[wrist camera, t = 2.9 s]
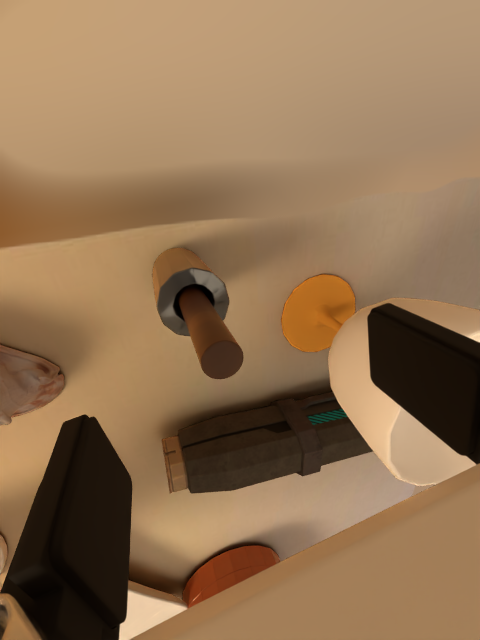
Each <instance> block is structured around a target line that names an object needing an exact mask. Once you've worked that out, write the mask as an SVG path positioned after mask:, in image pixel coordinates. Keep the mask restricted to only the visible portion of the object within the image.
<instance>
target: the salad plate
mask: <svg viewBox="0 0 480 640" xmlns="http://www.w3.org/2000/svg"><path fill="white" fill-rule="evenodd" d="M186 609H188V606H187V604H186V603H185V602H184V601H182V600H181V599H180V598H178V597H176V596H173V595H171V594H168V593H165V592H162V591H158V590H155V589H152V588H149V587H146V586H144V585H141V584H138V583H135V582H132V581H129V580H128V601H127V616H126V620H125V622H123V623H121V624H120V632H119V640H129V639H131V638H133V637H135V636H137V635H139V634H141V633H143V632H145V631H147V630H148V629H150V628H152V627H154V626H156V625H158V624H160V623H162V622H164V621H166V620H167V619H169V618H171V617H173V616H175V615H177V614H179V613H181V612H183V611H185V610H186Z"/></svg>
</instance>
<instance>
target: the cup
mask: <svg viewBox="0 0 480 640" xmlns="http://www.w3.org/2000/svg"><path fill="white" fill-rule="evenodd" d="M386 303H391V304H393V305H395V306H398V307H400V308H402V309H405V310H407V311H409V312H411V313H414V314H416V315H418V316H420V317H423V318H425V319H427V320H430V321H432V322H434V323H436V324H439V325H441V326H443V327H446V328H448V329H450V330H452V331H455V332H457V333H459V334H461V335H464V336H466V337H468V338H471V339H473V340H475V341H477V342H480V310H477V309H473V308H468V307H463V306H458V305H453V304H449V303H444V302H439V301H432V300H423V299H413V298H391V299H388V300H385V301H382V302H379V303H376V304H373V305H370V306H368V307H365V308H362V309H360V310H359V311H357V312H356V313H355V296H354V294H353V292H352V290H351V288H350V286H349V284H348V283H347V282H345V281H344V280H342V279H341V278H340V277H338V276H334V275H326V274H321V275H318V276H315V277H312V278H309V279H307V280H305V281H304V282H303V283H302V284H300V285H299V286H298V287H297V288H295V289H294V290H293V292H292V293H291V295H290V297H289V298H288V300H287V301H286V303H285V305H284V309H283V314H282V318H281V322H282V328H283V334H284V336H285V337H286V339H287V340H288V341H289V343H290V344H291V346H293V347H295V348H297V349H299V350H301V351H303V352H318V351H320V350H323V349H326V348H329V347H331V349H330V352H329V355H328V361H329V375H330V385H331V389H332V391H333V393H334V395H335V397H336V399H337V401H338V403H339V404H340V406H341V407H342V409H343V410H344V412H345V413H346V414H347V416H348V417H349V419H350V420H351V422H352V423H353V424H354V426H355V427H356V428H357V430H358V431H359V433H360V434H361V435H362V437H363V438H364V440H365V441H366V442H367V444H368V445H369V446H370V448H371V449H372V450H373V451H374V453H375V454H376V455H377V456H378V457H379V458H380V460H381V461H382V462H383V463H384V464H385V466H386V467H387V468H388V469H389V470H390V472H391V473H392V474H393V475H394V476H395V477H396V479H398V480H401V481H405V482H408V483H411V484H414V485H418V486H425V485H430V484H437V483H440V482H443V481H445V480H447V479H449V478H451V477H453V476H455V475H457V474H459V473H461V472H463V471H465V470H467V469H469V468H471V467H473V466H475V465H477V464H475V463H474V462H473V461H472V460H470V459H469V458H468V457H467V456H462V455H460V454H458V453H456V452H455V451H454V450H453V449H452V448H450V447H449V446H448V445H447V444H445V443H444V442H443V441H442V440H441V439H439V438H438V437H437V436H436V435H435V434H433V433H432V432H431V431H430V430H429V429H427V428H426V427H425V426H424V425H422V424H421V423H420V422H419V421H418V420H416V419H415V418H414V417H413V416H412V415H410V414H409V413H408V412H407V411H406V410H404V409H403V408H402V407H401V406H399V405H398V404H397V403H396V402H395V401H393V400H392V399H391V398H390V397H389V396H387V395H386V394H385V393H384V392H382V391H381V390H380V389H379V388H378V387H376V386H375V385H374V383H373V382H372V380H371V377H370V363H369V344H368V324H367V317H368V315H369V314H370V311H371V309H372V308H375V307H377V306H380V305H383V304H386ZM354 313H355V314H354Z"/></svg>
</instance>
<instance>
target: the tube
mask: <svg viewBox="0 0 480 640" xmlns="http://www.w3.org/2000/svg"><path fill="white" fill-rule="evenodd" d="M162 444H163V452H164V459H165V465H166V472H167V478H168V485H169V491H170V493H172V492H177V491H180V490H183V489H187V488H188V489H189V491H190V493H205V492H218V491H231V490H236V489H239V488H243V487H247V486H250V485H254V484H257V483H261V482H265V481H268V480H272V479H275V478H279V477H283V476H286V475H290V474H293V473H297V474H299V475H301V476H305V475H309V474H313V473H316V472H320V469H321V466H322V465H326V464H329V463H333V462H336V461H340V460H343V459H347V458H351V457H354V456H358V455H361V454H365V453H368V452H372V451H373V450H372V449H371V448H370V446H369V445H368V444H367V442H366V441H365V440H364V438H363V437H362V435H361V434H360V433H359V431H358V430H357V428H356V427H355V426H354V424H353V423H352V422H351V420H350V419H349V417H348V416H347V414H346V413H345V412H344V410H343V409H342V407H341V406H340V404H339V403H338V401H337V399H336V397H335V395H334V393H333V392H330V393H325V394H320V395H315V396H311V397H307V398H306V399H302V400H297V401H294V400H293V399H284V400H279V401H274V402H271V406H268V407H263V408H258V409H253V410H249V411H244V412H239V413H234V414H229V415H225V416H220V417H215V418H211V419H208V420H205V421H203V422H200V423H197V424H194V425H192V426H189V427H186V428H183V429H181V430H179V431H178V435H177V436H173V437H169V438H165V439H162ZM373 452H374V451H373Z"/></svg>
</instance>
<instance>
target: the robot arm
mask: <svg viewBox="0 0 480 640" xmlns="http://www.w3.org/2000/svg"><path fill="white" fill-rule="evenodd" d="M367 324H368V344H369V363H370V377H371V380H372V382H373V383H374V385H375V386H376V387H378V388H379V389H380V390H381V391H382V392H384V393H385V394H386V395H387V396H389V397H390V398H391V399H392V400H393V401H395V402H396V403H397V404H398V405H399V406H401V407H402V408H403V409H404V410H406V411H407V412H408V413H409V414H410V415H412V416H413V417H414V418H415V419H416V420H418V421H419V422H420V423H421V424H422V425H424V426H425V427H426V428H427V429H429V430H430V431H431V432H432V433H433V434H435V435H436V436H437V437H438V438H439V439H441V440H442V441H443V442H444V443H445V444H447V445H448V446H449V447H450V448H452V449H453V450H454V451H455V452H456V453H458V454H460V455H462V456H467V457H468V458H469V459H470V460H472V461H473V462H474V463H475V464H477V465H475V466H473V467H471V468H469V469H467V470H465V471H463V472H461V473H459V474H457V475H455V476H453V477H451V478H449V479H447V480H445V481H443V482H440V483H438V484H436V485H434V486H432V487H430V488H428V489H426V490H424V491H422V492H420V493H418V494H416V495H414V496H412V497H410V498H408V499H406V500H404V501H402V502H400V503H398V504H396V505H394V506H392V507H390V508H388V509H386V510H384V511H382V512H380V513H378V514H376V515H374V516H372V517H370V518H368V519H366V520H364V521H362V522H360V523H357V524H355V525H353V526H351V527H349V528H347V529H345V530H343V531H341V532H339V533H337V534H335V535H333V536H331V537H329V538H327V539H325V540H323V541H321V542H319V543H317V544H315V545H313V546H311V547H309V548H307V549H305V550H303V551H301V552H299V553H297V554H295V555H293V556H291V557H289V558H287V559H285V560H283V561H281V562H279V563H277V564H275V565H274V566H272V567H270V568H268V569H266V570H264V571H262V572H260V573H258V574H256V575H254V576H252V577H250V578H248V579H246V580H244V581H242V582H240V583H238V584H236V585H234V586H232V587H230V588H228V589H226V590H224V591H222V592H220V593H218V594H216V595H214V596H212V597H210V598H208V599H206V600H204V601H202V602H200V603H198V604H196V605H194V606H192V607H190V608H188V609H186V610H185V611H183V612H181V613H179V614H177V615H175V616H173V617H171V618H169V619H167V620H166V621H164V622H162V623H160V624H158V625H156V626H154V627H152V628H150V629H148V630H147V631H145V632H143V633H141V634H139V635H137V636H135V637H133V638H131V639H129V640H480V342H477V341H475V340H473V339H471V338H468V337H466V336H464V335H461V334H459V333H457V332H455V331H452V330H450V329H448V328H446V327H443V326H441V325H439V324H436V323H434V322H432V321H430V320H427V319H425V318H423V317H420V316H418V315H416V314H414V313H411V312H409V311H407V310H405V309H402V308H400V307H398V306H395V305H393V304H391V303H386V304H383V305H380V306H377V307H375V308H372V309H371V311H370V314H369V315H368V317H367ZM131 507H132V481H131V477H130V475H129V473H128V471H127V469H126V468H125V466H124V464H123V463H122V461H121V459H120V458H119V456H118V454H117V453H116V451H115V449H114V448H113V446H112V444H111V443H110V441H109V439H108V438H107V436H106V434H105V433H104V431H103V429H102V428H101V426H100V424H99V422H98V421H97V419H96V418H95V417H90V418H89V417H88V416H87V415H82V416H79V417H76V418H73V419H71V420H68V421H65V422H64V423H63V425H62V427H61V430H60V433H59V435H58V438H57V441H56V444H55V447H54V449H53V452H52V455H51V458H50V460H49V463H48V466H47V469H46V472H45V474H44V477H43V480H42V482H41V484H40V486H39V488H38V490H37V493H36V496H35V499H34V501H33V504H32V507H31V510H30V512H29V515H28V518H27V521H26V523H25V526H24V529H23V532H22V534H21V537H20V540H19V543H18V545H17V548H16V551H15V554H14V556H13V559H12V562H11V565H10V567H9V570H8V573H7V576H6V578H5V581H4V584H3V587H2V589H1V592H0V640H119V632H120V624H121V623H123V622H125V620H126V616H127V601H128V577H129V554H130V531H131ZM7 554H8V552H7V545H6V543H5V541H4V538H3V537H2V536H1V535H0V574H1V572H2V570H3V567H4V565H5V562H6V558H7Z"/></svg>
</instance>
